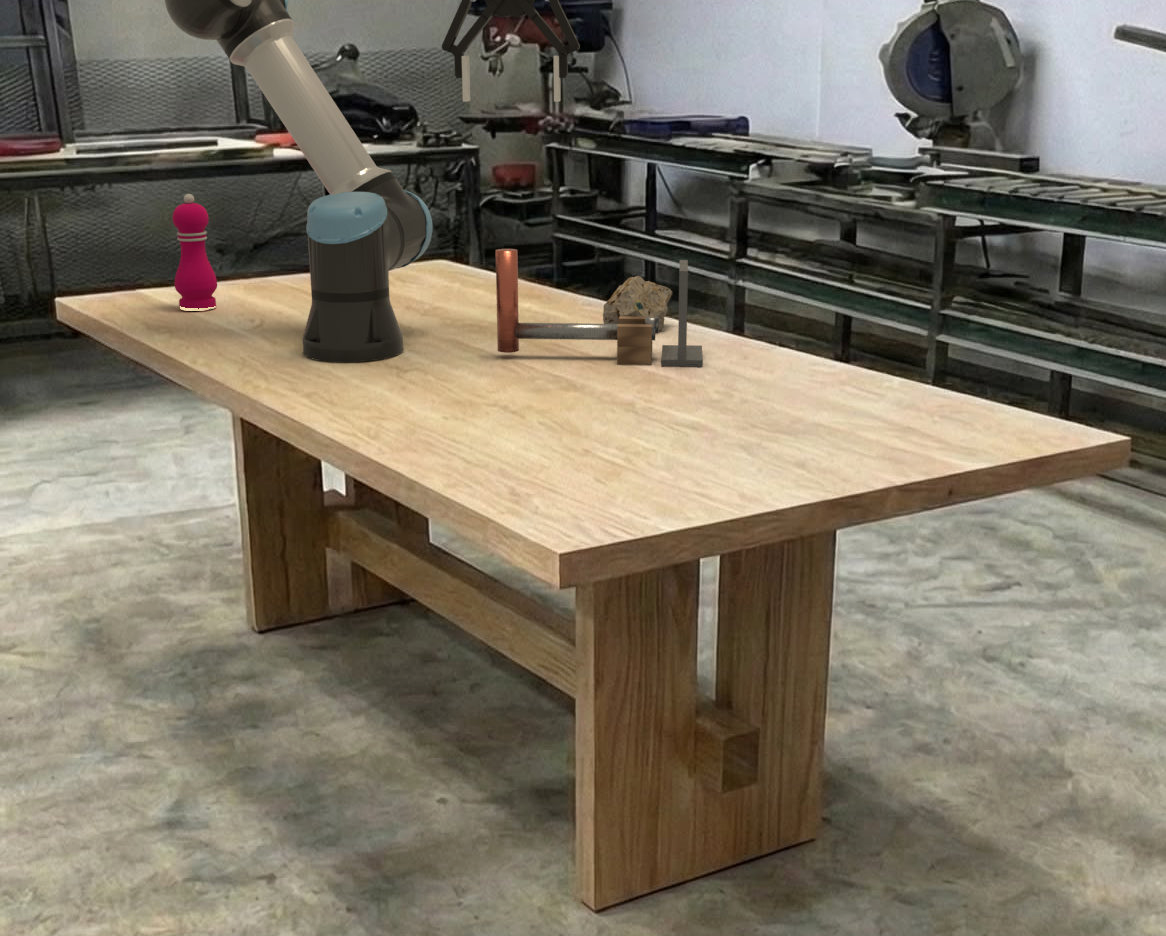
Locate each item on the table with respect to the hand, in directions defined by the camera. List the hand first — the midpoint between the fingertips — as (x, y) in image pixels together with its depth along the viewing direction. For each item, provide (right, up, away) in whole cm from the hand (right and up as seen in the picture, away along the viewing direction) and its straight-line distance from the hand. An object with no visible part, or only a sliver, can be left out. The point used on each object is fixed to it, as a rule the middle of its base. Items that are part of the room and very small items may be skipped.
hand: (511, 101), depth 215 cm
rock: (+20, -33, +20) cm, 43 cm away
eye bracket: (+25, -38, 0) cm, 46 cm away
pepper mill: (-57, -27, +39) cm, 74 cm away
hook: (+10, -37, 0) cm, 39 cm away
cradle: (+18, -38, 0) cm, 42 cm away
